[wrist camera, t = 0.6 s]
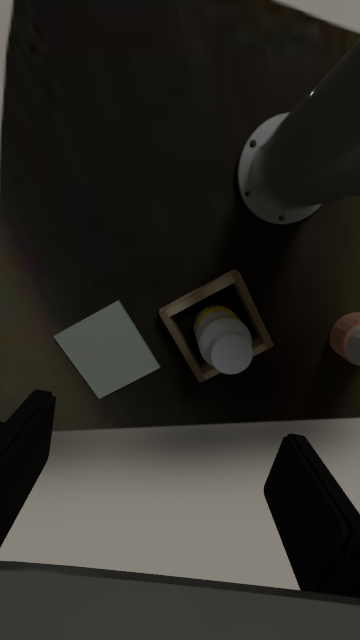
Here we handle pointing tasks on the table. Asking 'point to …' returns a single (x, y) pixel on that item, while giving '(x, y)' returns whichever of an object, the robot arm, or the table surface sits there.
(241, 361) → the pill bottle
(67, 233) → the table surface
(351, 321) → the pepper shaker
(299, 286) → the table surface
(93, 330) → the ceramic tile
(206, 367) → the oak cradle
